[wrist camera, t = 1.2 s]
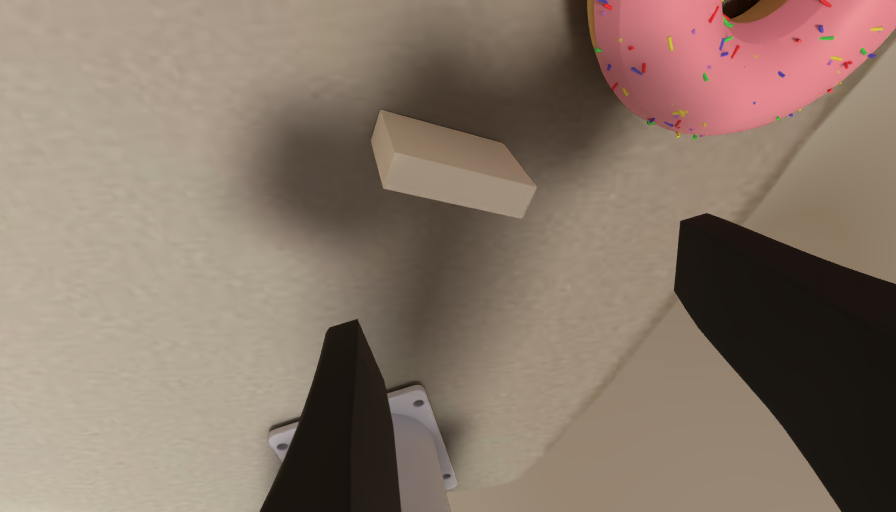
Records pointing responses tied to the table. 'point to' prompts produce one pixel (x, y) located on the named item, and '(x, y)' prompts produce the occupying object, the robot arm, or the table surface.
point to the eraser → (449, 166)
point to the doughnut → (731, 57)
